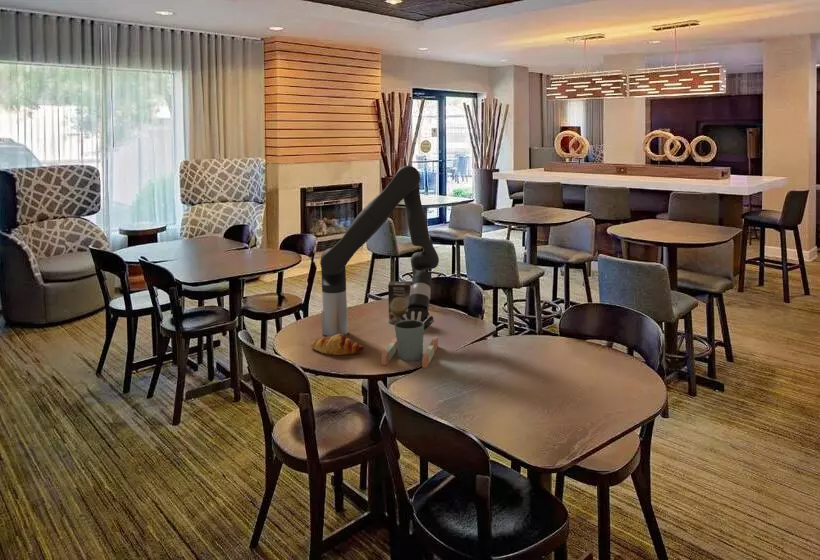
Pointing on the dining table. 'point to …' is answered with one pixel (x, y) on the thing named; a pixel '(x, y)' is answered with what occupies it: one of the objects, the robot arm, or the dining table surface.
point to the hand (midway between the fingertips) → (413, 340)
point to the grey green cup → (409, 339)
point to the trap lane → (425, 359)
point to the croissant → (336, 345)
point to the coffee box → (398, 299)
